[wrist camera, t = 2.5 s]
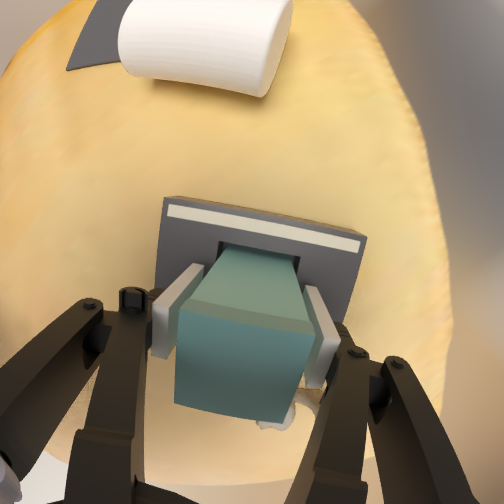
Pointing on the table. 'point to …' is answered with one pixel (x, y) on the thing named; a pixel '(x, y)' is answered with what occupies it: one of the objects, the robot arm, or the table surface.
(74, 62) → the mat
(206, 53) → the mug
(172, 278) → the grey socket block
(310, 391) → the bone
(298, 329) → the plug
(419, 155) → the table surface
